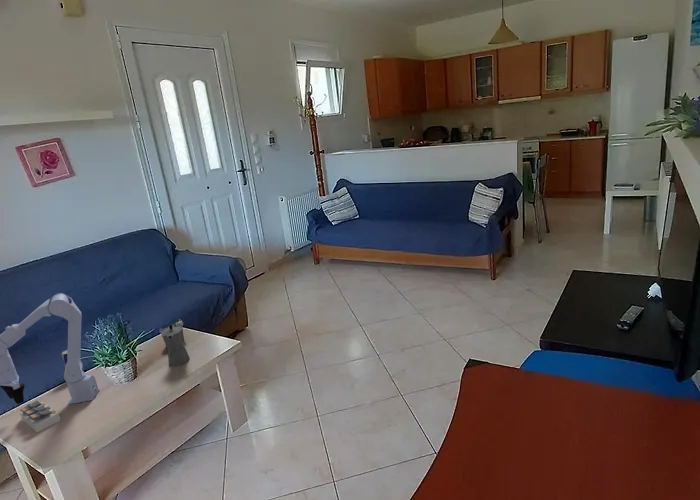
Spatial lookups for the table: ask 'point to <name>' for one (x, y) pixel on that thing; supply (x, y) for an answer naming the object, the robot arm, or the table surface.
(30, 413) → the rocker
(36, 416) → the rocker
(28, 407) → the rocker
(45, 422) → the switch unit
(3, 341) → the robot arm
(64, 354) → the energy drink
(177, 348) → the coffeepot
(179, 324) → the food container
